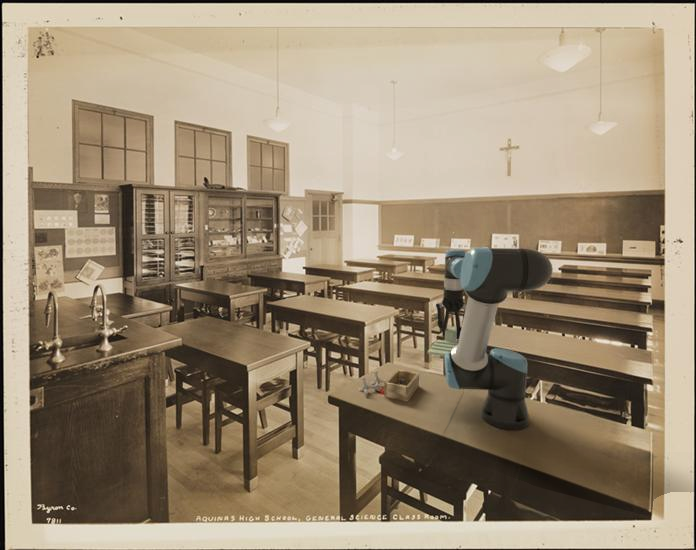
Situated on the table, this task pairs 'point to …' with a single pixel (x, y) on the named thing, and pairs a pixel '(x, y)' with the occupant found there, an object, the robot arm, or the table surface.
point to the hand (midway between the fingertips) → (450, 345)
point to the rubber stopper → (403, 381)
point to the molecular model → (376, 382)
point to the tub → (400, 391)
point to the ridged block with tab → (444, 344)
